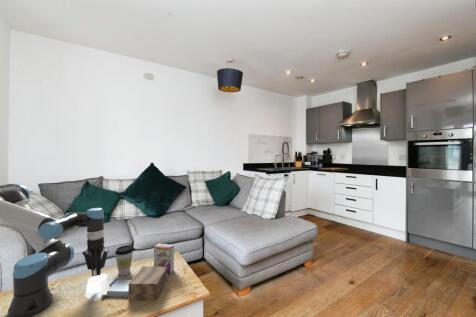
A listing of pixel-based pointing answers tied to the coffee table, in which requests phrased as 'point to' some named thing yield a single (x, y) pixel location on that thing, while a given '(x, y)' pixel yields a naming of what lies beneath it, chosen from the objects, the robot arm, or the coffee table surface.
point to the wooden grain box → (148, 283)
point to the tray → (118, 287)
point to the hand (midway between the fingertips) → (96, 281)
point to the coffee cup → (124, 259)
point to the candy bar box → (164, 256)
